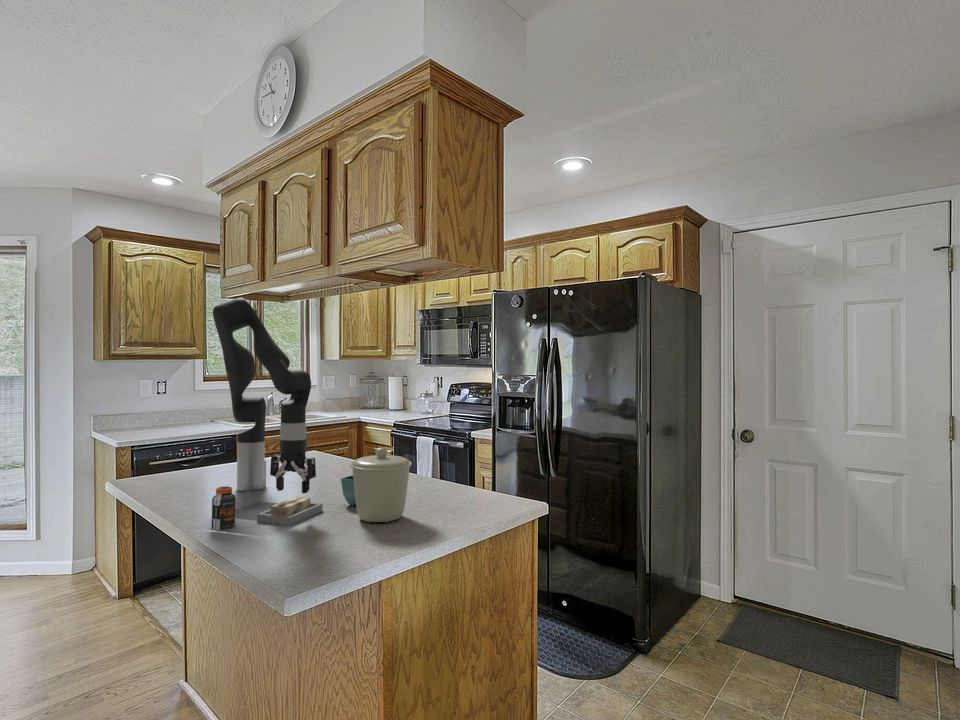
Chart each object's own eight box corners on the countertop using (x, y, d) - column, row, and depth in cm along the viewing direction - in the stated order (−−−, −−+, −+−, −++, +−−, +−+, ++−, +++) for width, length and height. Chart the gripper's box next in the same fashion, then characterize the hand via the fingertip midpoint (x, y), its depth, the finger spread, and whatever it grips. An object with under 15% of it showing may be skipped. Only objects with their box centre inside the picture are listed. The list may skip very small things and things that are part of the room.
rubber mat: (259, 502, 180) (259, 501, 180) (295, 506, 176) (295, 505, 176) (217, 517, 163) (217, 515, 163) (256, 521, 159) (256, 520, 159)
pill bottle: (219, 532, 149) (220, 491, 149) (207, 529, 152) (207, 488, 152) (239, 527, 154) (240, 486, 154) (226, 523, 157) (227, 484, 157)
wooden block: (285, 521, 157) (285, 507, 157) (270, 520, 159) (270, 505, 159) (310, 511, 169) (310, 497, 169) (296, 509, 170) (296, 496, 170)
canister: (355, 530, 152) (356, 454, 152) (344, 513, 168) (345, 444, 168) (418, 523, 159) (419, 450, 159) (402, 508, 176) (402, 442, 176)
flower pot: (339, 505, 177) (340, 478, 177) (357, 499, 185) (358, 473, 185) (361, 509, 173) (361, 481, 173) (378, 503, 181) (379, 476, 181)
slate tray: (292, 509, 173) (292, 500, 173) (322, 512, 170) (322, 503, 170) (257, 523, 158) (257, 514, 158) (289, 527, 154) (289, 517, 154)
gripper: (264, 437, 162) (264, 492, 163) (306, 440, 158) (305, 496, 158) (280, 434, 170) (280, 486, 170) (321, 436, 165) (320, 490, 166)
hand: (292, 491), depth 164 cm, fingers open, 8 cm apart
